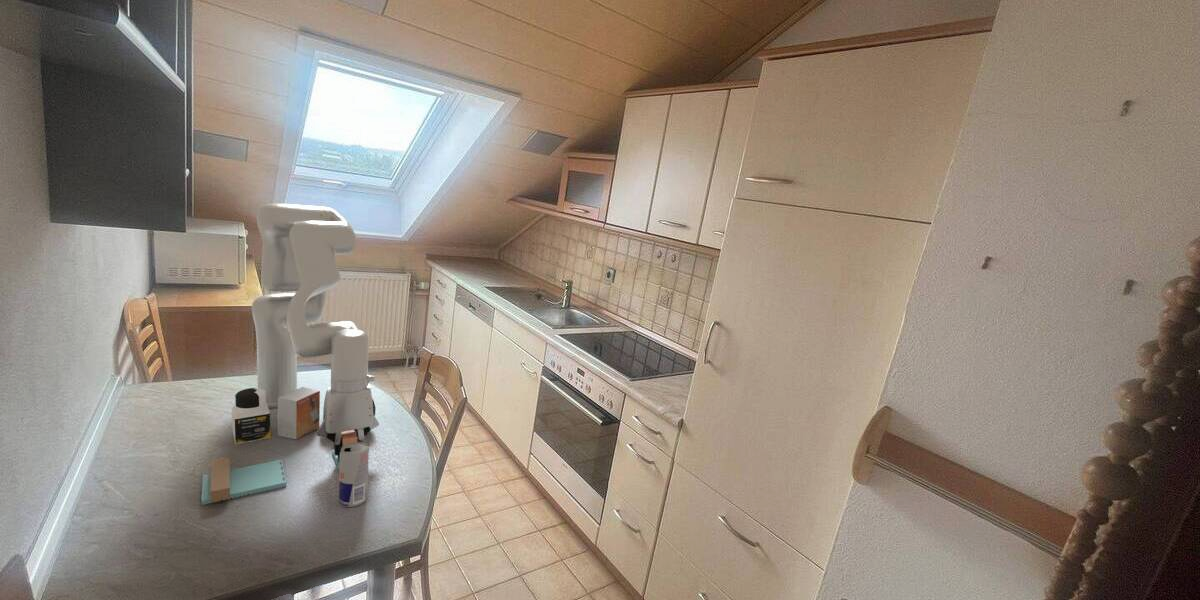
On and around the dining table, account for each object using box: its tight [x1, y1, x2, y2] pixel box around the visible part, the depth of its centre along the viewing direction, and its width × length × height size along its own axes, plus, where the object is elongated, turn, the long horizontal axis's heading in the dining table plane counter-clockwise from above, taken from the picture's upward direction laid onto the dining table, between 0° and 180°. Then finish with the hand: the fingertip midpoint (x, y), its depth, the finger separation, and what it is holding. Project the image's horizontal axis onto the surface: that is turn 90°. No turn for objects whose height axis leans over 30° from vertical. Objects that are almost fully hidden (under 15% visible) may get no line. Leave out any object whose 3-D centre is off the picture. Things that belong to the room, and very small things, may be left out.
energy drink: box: [338, 441, 370, 508], centre depth 100 cm, size 5×5×12 cm
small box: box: [277, 386, 321, 440], centre depth 124 cm, size 8×6×10 cm
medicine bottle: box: [231, 387, 272, 445], centre depth 119 cm, size 7×7×12 cm
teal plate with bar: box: [200, 456, 287, 506], centre depth 102 cm, size 13×14×3 cm
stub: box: [332, 430, 357, 470], centre depth 114 cm, size 10×5×7 cm, turn 37°
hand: (348, 454), depth 114 cm, fingers closed on stub, 3 cm apart
